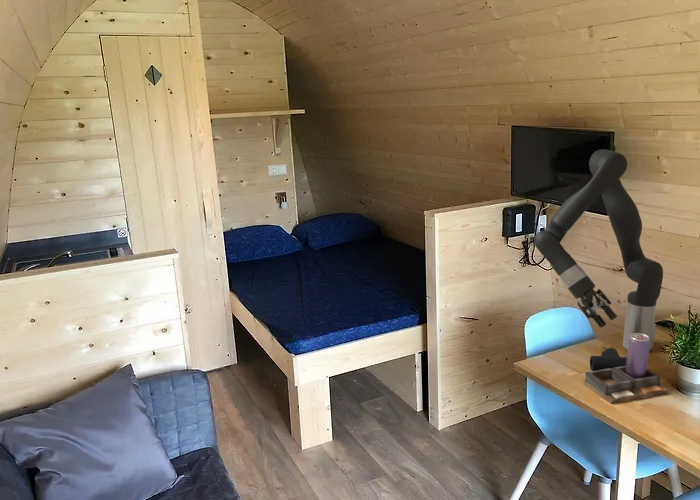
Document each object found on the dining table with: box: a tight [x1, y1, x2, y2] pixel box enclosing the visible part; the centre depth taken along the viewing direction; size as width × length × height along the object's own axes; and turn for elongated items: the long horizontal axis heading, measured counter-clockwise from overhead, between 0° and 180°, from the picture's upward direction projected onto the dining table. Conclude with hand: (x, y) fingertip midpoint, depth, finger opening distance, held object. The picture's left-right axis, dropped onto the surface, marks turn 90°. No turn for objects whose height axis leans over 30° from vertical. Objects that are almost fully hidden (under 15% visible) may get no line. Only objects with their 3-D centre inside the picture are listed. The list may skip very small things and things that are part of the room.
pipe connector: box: [589, 346, 627, 371], centre depth 197 cm, size 12×5×15 cm
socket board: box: [583, 366, 669, 405], centre depth 182 cm, size 20×13×4 cm, turn 105°
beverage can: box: [625, 333, 650, 379], centre depth 183 cm, size 6×6×15 cm
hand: (609, 322), depth 187 cm, fingers open, 8 cm apart
